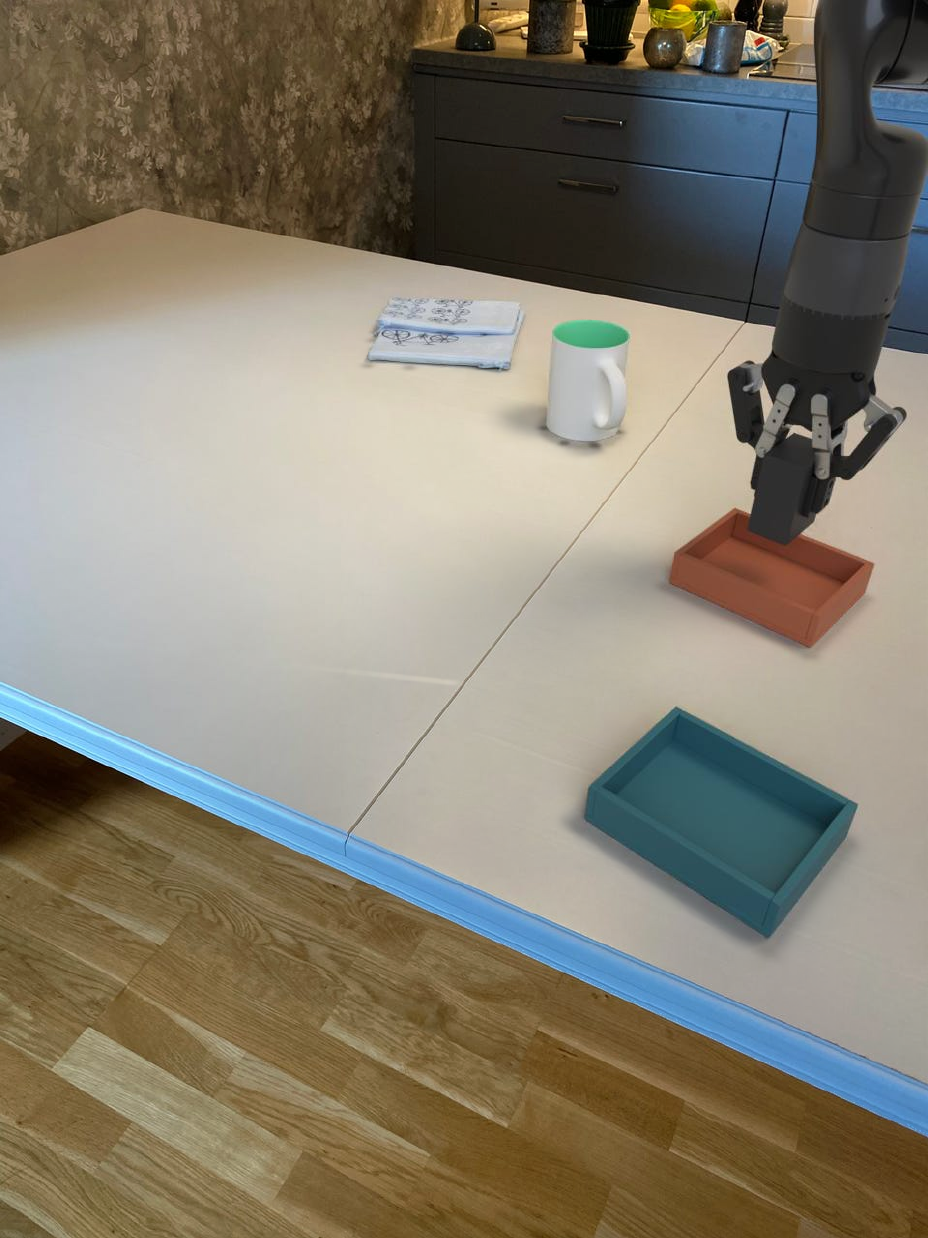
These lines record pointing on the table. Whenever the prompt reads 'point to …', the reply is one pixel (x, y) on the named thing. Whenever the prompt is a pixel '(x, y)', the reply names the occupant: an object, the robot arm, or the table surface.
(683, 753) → the teal bin
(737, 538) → the terracotta bin
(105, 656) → the table surface
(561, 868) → the table surface
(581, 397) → the mug
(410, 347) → the light blue folded towel
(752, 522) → the block
